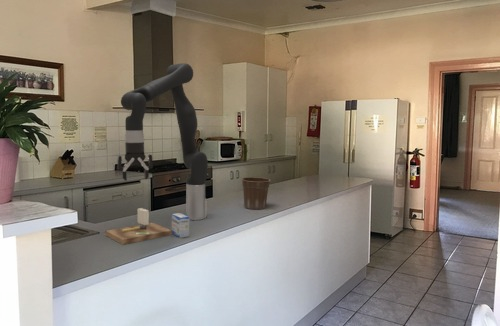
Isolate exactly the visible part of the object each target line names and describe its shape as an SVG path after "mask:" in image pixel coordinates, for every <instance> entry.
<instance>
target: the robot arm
mask: <svg viewBox="0 0 500 326" xmlns="http://www.w3.org/2000/svg"><path fill="white" fill-rule="evenodd" d="M193 77H194V70H193V67H192V66H191V64H189V63H187V62H185V63H184V62H183V63H181V62H180V63H176V64H175V63H174V64H171V65H170V64H169V66H168V67H167V70H166V75H164V76H162V77H159V78H156V79H154V80H151V81H149V82H148V83H146V84H144V85H143V86H140V87H138V88H135V89H133V90H130V91H127V92H125V94H123V95H122V97H121V99H120V105H121V106H122V108H124V109H125V110H128V111H131V113H130V115H128V116H126V118H125V134H124V140H125V141H124V142H125V143H124V144H125V155H117V163H116V164H117V165H116V166H117V167H116V168H117V171H120V172H122V174H121V177H122V180H124V182H125V181H126V182H127V179H128V178H127V170H128V169H129V167H130V166H133V167H134V166H142V167H143V169H144V171H143V172H144V176H143V177H144V180H147V179H148V178H149V177H150V175H149V170H152V169H153V168H154V164H153V155H152V154H145V135H144V134H145V133H144V118H145V114H146V113H145V112H146V109H147V103H149V102H151V101H153V100H155V99H157V98H159V97H160V96H161V95H163V94H165V93H167V92H168V91H171V94H172V99H173V103H174V107H175V108H174V109H175V115H176V120H177V125H178V129H179V136H180V140H181V147H182V158H183V159H182V160H183V163H184V166H185V167H186V168H187V169H189V170H190V176H188V177H187V178H186V180H185V181H186V185H185V186H186V189H185V191H186V193H185V194H186V195H185V197H186V198H185V201H186V202H185V205H186V206H185V210H186V211H185V212H186V213H185V215H186V216H188V217H189V221H199V220H204V219H206V218H207V216H208V215H207V212H208V211H207V209H208V208H207V207H208V206H207V205H208V202H207V198H206V180H207V177H208V165H209V163H208V161H209V160H208V157H207V156H208V155H206V153H204V152H202V151H198V149H197V144H196V134H197V130H198V119H197V118H198V117H197V113H196V110H195V107H194V106H193V103H192V102H191V101H190V100H189V98H188V97H187V95H186V93H185V90H184V87H183V85H184V84H187V83H190V82H191V81H193V80H192V79H193ZM124 159H125V161H126V162H125V164H124V165H123V167H122V162H123V161H124ZM145 159H146V160H147V162H148V166H147V165H146V163H145V162H144V161H145Z"/></svg>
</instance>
